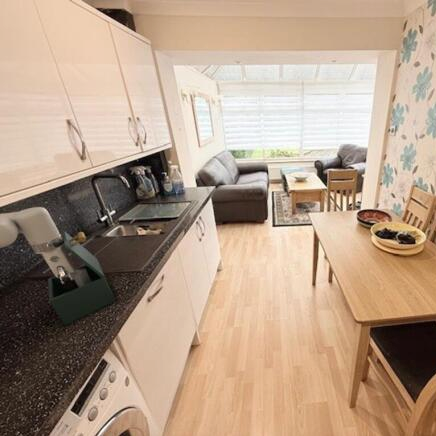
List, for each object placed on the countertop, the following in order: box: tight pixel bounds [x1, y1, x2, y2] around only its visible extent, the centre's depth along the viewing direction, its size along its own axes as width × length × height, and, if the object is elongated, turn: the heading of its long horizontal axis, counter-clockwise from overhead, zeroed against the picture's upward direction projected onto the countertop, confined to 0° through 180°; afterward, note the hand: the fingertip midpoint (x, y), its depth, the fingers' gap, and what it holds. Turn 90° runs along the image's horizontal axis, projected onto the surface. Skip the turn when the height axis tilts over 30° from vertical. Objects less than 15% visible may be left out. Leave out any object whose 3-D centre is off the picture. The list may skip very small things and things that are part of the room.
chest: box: [47, 264, 116, 326], centre depth 89 cm, size 15×17×11 cm
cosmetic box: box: [66, 269, 91, 287], centre depth 89 cm, size 6×4×12 cm
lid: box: [61, 231, 105, 278], centre depth 87 cm, size 16×17×5 cm
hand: (72, 284), depth 86 cm, fingers open, 9 cm apart
